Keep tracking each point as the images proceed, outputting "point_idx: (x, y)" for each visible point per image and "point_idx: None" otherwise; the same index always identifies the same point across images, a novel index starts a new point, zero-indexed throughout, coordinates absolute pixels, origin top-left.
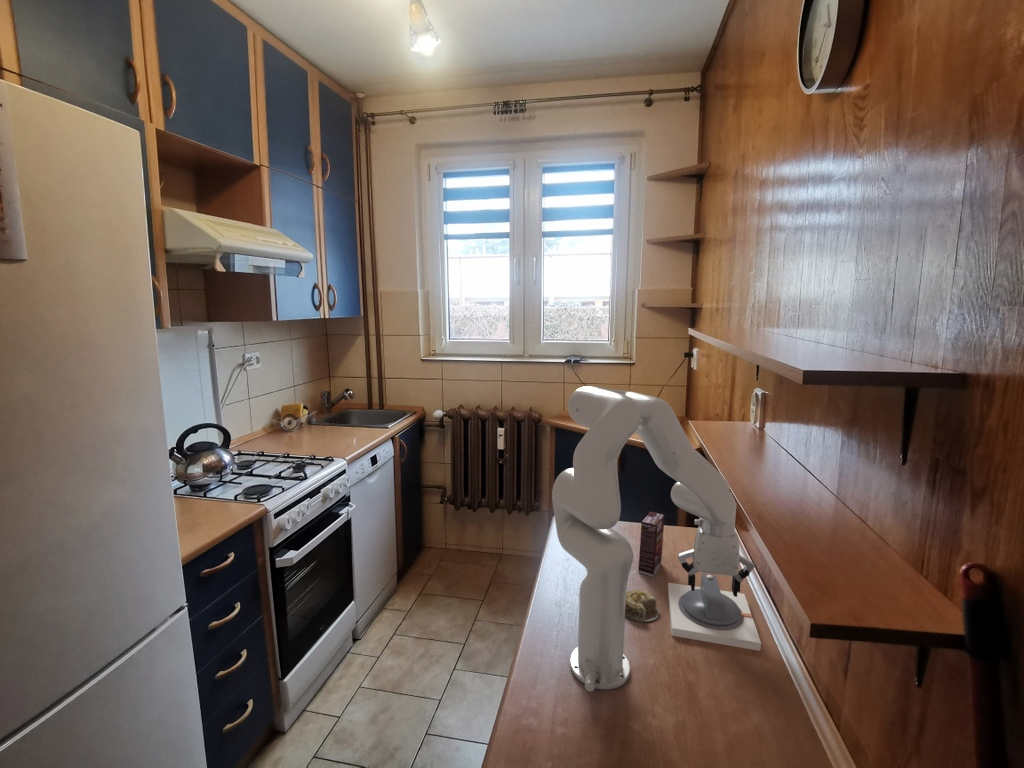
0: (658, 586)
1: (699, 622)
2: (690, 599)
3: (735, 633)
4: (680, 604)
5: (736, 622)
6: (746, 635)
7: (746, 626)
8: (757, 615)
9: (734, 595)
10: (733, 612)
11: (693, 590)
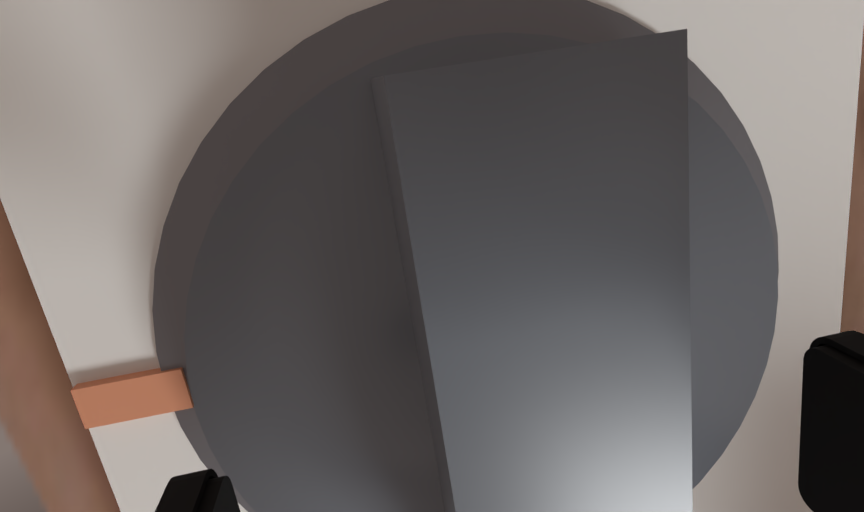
0: None
1: None
2: (701, 344)
3: (213, 15)
4: None
5: None
6: (91, 32)
7: (111, 205)
8: (78, 503)
9: (212, 480)
10: (250, 316)
11: (828, 335)
